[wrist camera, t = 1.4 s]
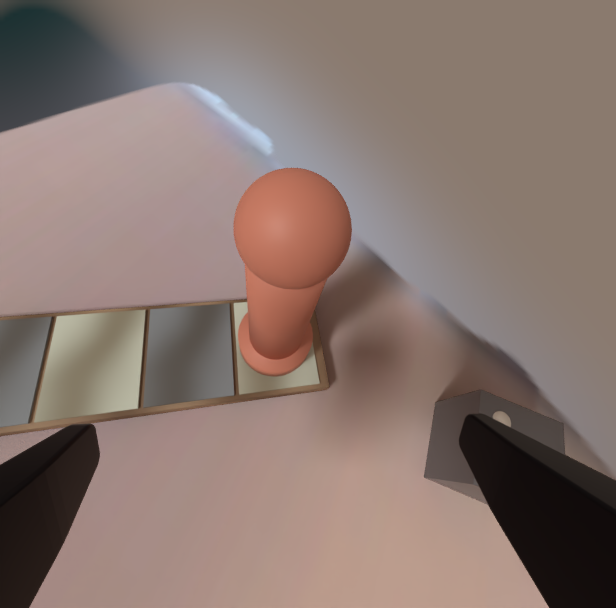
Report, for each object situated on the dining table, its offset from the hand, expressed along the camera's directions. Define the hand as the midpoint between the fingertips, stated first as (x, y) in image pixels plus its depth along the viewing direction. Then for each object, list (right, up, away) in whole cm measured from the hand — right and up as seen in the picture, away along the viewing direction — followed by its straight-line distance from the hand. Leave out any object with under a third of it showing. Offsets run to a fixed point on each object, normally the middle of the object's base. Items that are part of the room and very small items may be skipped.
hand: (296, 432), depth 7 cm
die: (+11, -7, +13) cm, 18 cm away
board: (-10, -1, +13) cm, 16 cm away
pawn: (-2, +1, +13) cm, 13 cm away
